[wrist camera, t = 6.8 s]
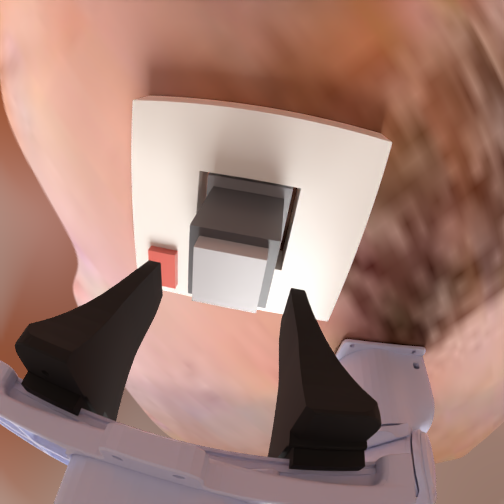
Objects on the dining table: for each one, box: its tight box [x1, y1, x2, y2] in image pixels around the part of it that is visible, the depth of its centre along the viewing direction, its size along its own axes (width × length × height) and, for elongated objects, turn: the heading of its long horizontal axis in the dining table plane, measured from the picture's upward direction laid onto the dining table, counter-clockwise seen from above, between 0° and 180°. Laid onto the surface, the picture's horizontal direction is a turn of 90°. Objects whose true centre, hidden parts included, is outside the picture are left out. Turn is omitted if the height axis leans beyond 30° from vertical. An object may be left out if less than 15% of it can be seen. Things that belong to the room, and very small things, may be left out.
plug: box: [188, 186, 284, 313], centre depth 18 cm, size 4×4×6 cm
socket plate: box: [131, 95, 392, 321], centre depth 20 cm, size 15×14×3 cm
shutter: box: [206, 172, 293, 258], centre depth 20 cm, size 5×5×1 cm
